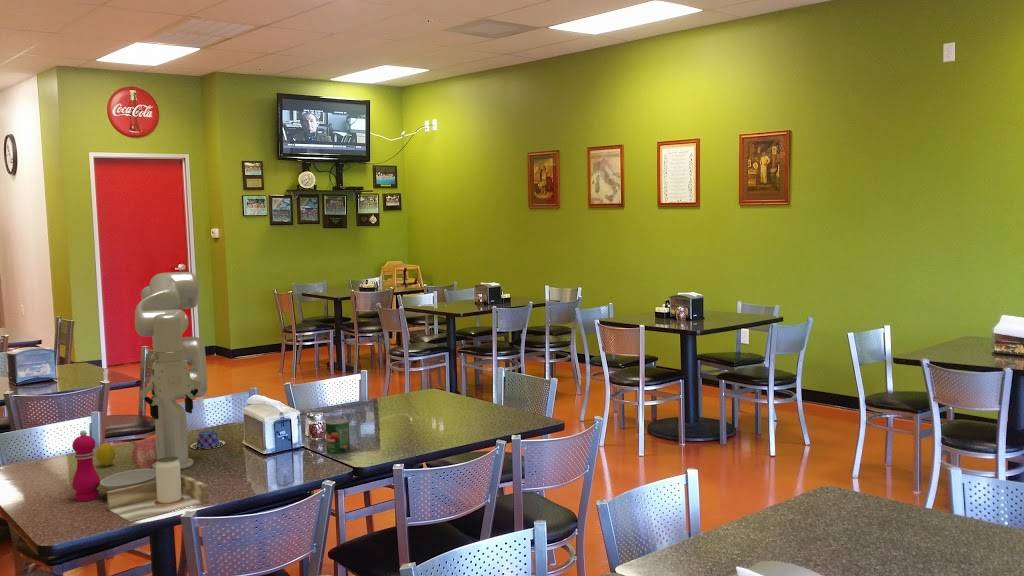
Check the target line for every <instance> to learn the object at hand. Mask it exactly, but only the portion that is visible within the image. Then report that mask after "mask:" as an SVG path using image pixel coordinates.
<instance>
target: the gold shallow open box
mask: <svg viewBox="0 0 1024 576" xmlns="http://www.w3.org/2000/svg"><path fill="white" fill-rule="evenodd" d="M180 475H181V499H180V500H179V501H177V502H174V503H169V504H162V503H159V502H158V501H157V486H156V480H154V481H152V482H148V483H144V484H139V485H135V486H130V487H126V488H121V489H117V490H112V491H110V490H108V491H106V501H107V510H108V511H110V512H112V513H113V514H115V515H117V516H119V517H120V518H121V519H123V520H125V521H127V522H129V523H134V522H138V521H143V520H145V519H150V518H154V517H157V516H158V517H159V516H161V515H166V514H169V512H170V513H173V512H172V511H174V512H176V511H175V510H178V509H182V508H186V507H190V506H194V507H196V506H195V505H197V506H201V505H205V504H209V503H210V499H209V497H210V496H209V493H210V492H209V485H208V484H206V483H203V482H201V481H200V480H197V479H195V478H193V477H190V476H188V475H186V474H180ZM208 502H209V503H208ZM204 503H205V504H204ZM200 504H201V505H200ZM190 508H191V507H190ZM186 509H187V508H186ZM182 510H183V509H182ZM178 511H179V510H178ZM165 513H166V514H165Z"/></svg>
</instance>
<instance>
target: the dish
mask: <svg viewBox="0 0 1024 576" xmlns="http://www.w3.org/2000/svg"><path fill="white" fill-rule="evenodd" d="M155 480H156V469H153V468H138V469H131V470H125V471H120V472H117V473H113V474H111V475H108V476H106V477H104V478H102V479H100V485H99V486H103V487H105V488H106V490H108V491H112V490H117V489H121V488H126V487H130V486H135V485H139V484H144V483H148V482H152V481H155Z"/></svg>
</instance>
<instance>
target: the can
mask: <svg viewBox="0 0 1024 576" xmlns="http://www.w3.org/2000/svg"><path fill="white" fill-rule="evenodd" d="M156 462H157V464H156V478H155V481H156V486H157V501H158V502H159V503H162V504H169V503H174V502H177V501H179V500H180V499H181V475H182V474H181V469H180V463H179V461H178V458H177V457H164V458H160V459H158V460H157V459H156Z"/></svg>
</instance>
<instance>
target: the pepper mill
mask: <svg viewBox="0 0 1024 576" xmlns="http://www.w3.org/2000/svg"><path fill="white" fill-rule="evenodd" d="M87 434H88V432H87V431H86V430H81V431H80V432H79V436H78V437H76V438H74V440H73V441H72V449H73V451H74V452H75V454H74V456H75V457H74V459H75V460H76V470H75V474H74V476H73V479H72V485H71V486H72V489H73V490H74V491H75V493H74V500H75V501H77V502H88V501H93V500H96V499H98V498H99V496H100V490H99V489H98V488H99V486H101V485H100V481H101V479H100V475H99V473H98V472H97V470H96V468H95V465H94V461H93V459H94V457H95V454H94V453H95V451H94V449H95V448H96V439H94V437H93V436H91V435H87Z"/></svg>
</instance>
